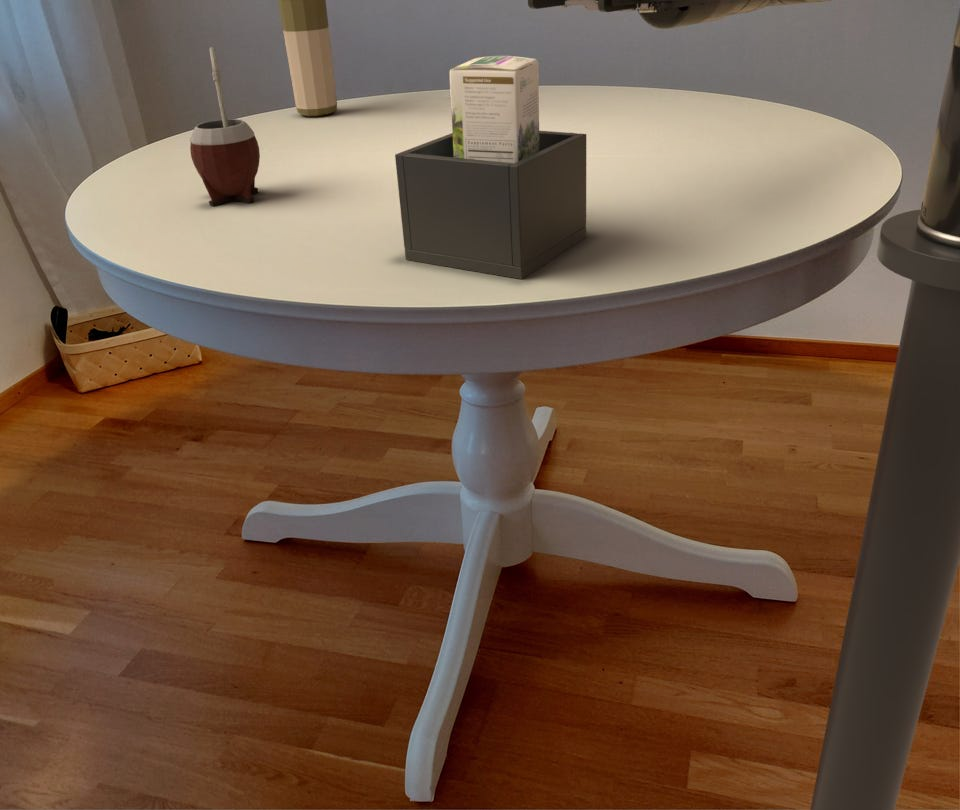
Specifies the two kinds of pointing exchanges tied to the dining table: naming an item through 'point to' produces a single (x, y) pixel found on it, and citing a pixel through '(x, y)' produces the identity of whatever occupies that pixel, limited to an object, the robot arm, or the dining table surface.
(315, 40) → the bottle
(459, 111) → the syrup box
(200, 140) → the mate gourd
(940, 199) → the robot arm
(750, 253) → the dining table surface
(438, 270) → the dining table surface
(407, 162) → the waste bin
